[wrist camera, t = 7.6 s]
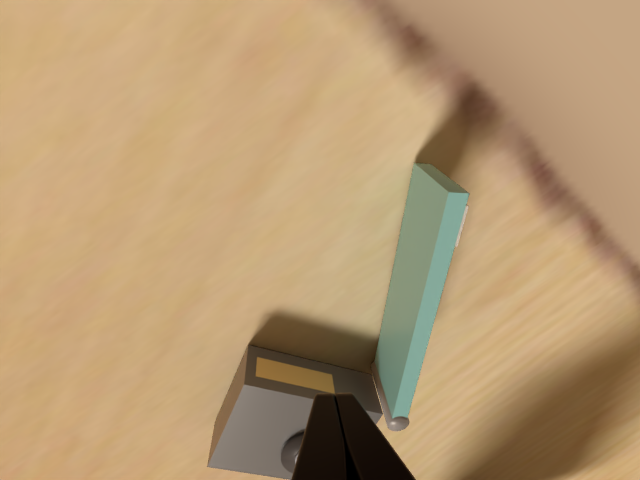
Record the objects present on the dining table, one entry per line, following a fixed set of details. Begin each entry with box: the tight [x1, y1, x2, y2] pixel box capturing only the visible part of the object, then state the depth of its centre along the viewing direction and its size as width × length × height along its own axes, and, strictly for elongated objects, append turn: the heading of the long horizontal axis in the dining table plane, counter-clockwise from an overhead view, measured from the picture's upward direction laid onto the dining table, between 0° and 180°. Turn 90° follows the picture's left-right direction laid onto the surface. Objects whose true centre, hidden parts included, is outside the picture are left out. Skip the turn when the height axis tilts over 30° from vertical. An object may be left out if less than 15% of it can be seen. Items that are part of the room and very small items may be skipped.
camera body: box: [207, 345, 383, 480], centre depth 20 cm, size 7×6×3 cm
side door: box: [371, 163, 469, 431], centre depth 16 cm, size 12×1×4 cm, turn 175°
